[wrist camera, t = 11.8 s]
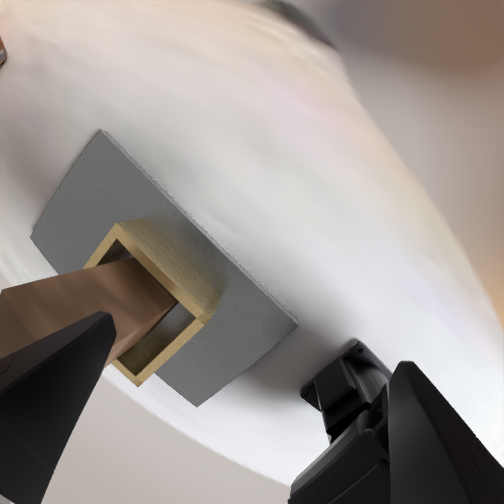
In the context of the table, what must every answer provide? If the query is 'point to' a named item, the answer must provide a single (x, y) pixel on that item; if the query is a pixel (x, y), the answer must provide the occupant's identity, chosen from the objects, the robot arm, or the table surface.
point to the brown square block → (85, 305)
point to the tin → (2, 52)
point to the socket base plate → (162, 273)
